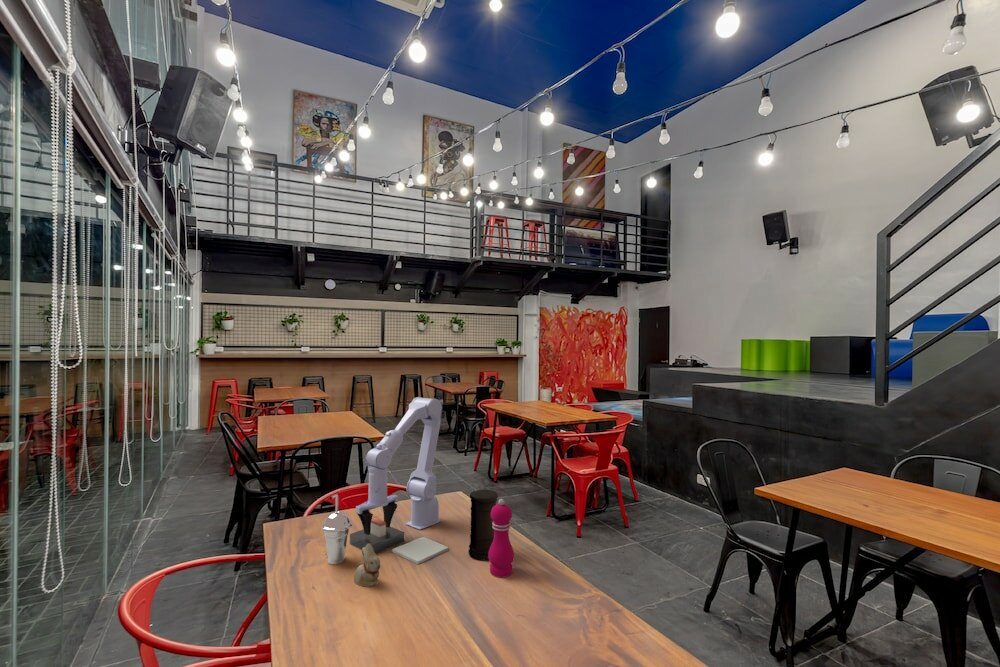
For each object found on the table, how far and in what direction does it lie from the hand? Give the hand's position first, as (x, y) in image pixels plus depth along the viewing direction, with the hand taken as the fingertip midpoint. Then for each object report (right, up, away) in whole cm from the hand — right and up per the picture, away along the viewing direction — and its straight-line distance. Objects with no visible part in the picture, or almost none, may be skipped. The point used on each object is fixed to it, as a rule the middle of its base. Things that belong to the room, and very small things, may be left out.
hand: (377, 530), depth 143 cm
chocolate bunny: (+4, -3, -24) cm, 24 cm away
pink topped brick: (0, -4, 0) cm, 4 cm away
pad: (+15, -4, -6) cm, 16 cm away
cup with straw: (-9, -4, -12) cm, 16 cm away
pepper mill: (+39, -4, -18) cm, 44 cm away
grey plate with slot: (0, -4, 0) cm, 4 cm away
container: (+34, -4, -8) cm, 35 cm away
